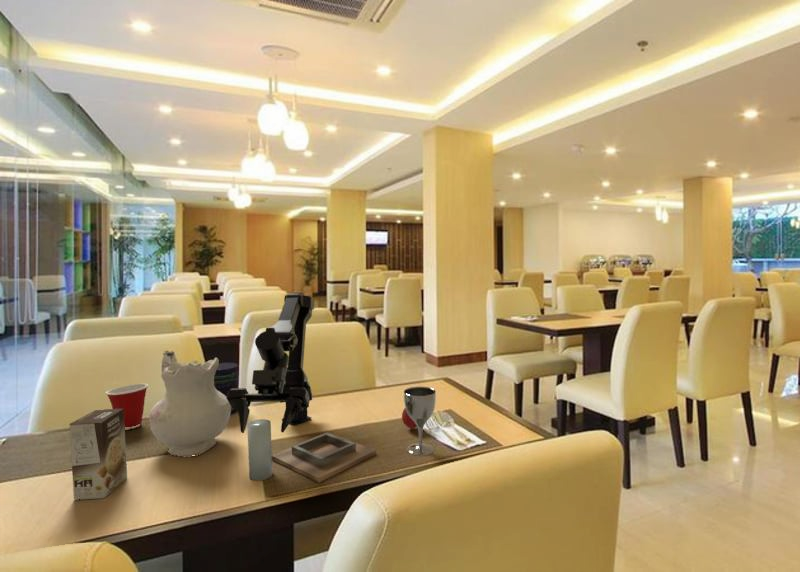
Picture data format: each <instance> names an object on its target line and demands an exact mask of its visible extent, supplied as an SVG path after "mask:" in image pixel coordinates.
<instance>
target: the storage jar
mask: <svg viewBox="0 0 800 572" xmlns="http://www.w3.org/2000/svg"><path fill="white" fill-rule="evenodd" d="M238 368H239V367H238V364H237V363H236V362H219V365H218V368H217V370H216V372H215V375H214V386H215V388H216V390H218V391H219V392H221V393H222V394H224V395H225V396H226V397H227V394H228V391H229V390H230V389H232V388H239V386H238V384H239V372H238V371H239V370H238ZM236 412H237V413H238V411H237V410H236V409H234V408H232V406H231V414H230V416H233V415H235V414H234V413H236ZM237 413H236V414H237ZM232 414H233V415H232Z"/></svg>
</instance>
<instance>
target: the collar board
mask: <svg viewBox="0 0 800 572" xmlns="http://www.w3.org/2000/svg"><path fill="white" fill-rule="evenodd" d="M375 455H377V449H374V448H372V447H368V446H365V445H363V444H360V443H358V442H356V441H352V440H350V439H347V438H344V437H341V436H339V435H335V434H333V433H330V432H323V434H319V435H317V436H314V437H312V438H309V439H307V440H305V441H302V442H300V443H296V444H294V445H292V446H291V447H288V448H286V449H284V450H281V451H279V452H277V453H274V454H272V461H274V462H276V463H278V464H280V465H282V466H284V467H286V468H288V469H291V470H292V471H295V472H296V473H298V474H300V475H302V476H304V477H306V478H309V479H310V480H313V481H314V482H317V483H321V482H323V481H325V480H327V479H329V478H331V477H333V476H335V475H337V474H339V473H340V472H343V471H345V470H347V469H349V468H351V467H353V466H356V465H357V464H359V463H361V462H363V461H366V460H367V459H369V458H371V457H373V456H375Z"/></svg>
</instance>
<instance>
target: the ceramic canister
mask: <svg viewBox="0 0 800 572" xmlns="http://www.w3.org/2000/svg"><path fill="white" fill-rule="evenodd" d="M246 427H247V428H246V429H247V447H248V448H247V449H248V452H247V453H248V472H249V473H248V474H249V480H252V481H254V482H255V481H257V482H258V481H259V482H260V481H265V480H267V479H270V478H271V477H272V476H273V474H274V472H273V460H272V455H273V453H272V452H273V451H272V449H273V447H272V424H271V420H270V419H265V418H264V419H262V418H261V419H254V420H252V421H249V422H247V424H246Z"/></svg>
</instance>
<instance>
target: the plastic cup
mask: <svg viewBox="0 0 800 572" xmlns="http://www.w3.org/2000/svg"><path fill="white" fill-rule="evenodd" d="M148 387H149V384H148V383H136V384H129V385H124V386H123V385H122V386H119V387H115V388H112V389H109V390H106V391H105V395H106V396H107V397H108V399H109V402H110V404H111V409H124V426H125V427H132V426H136V425H138V424H140V423H141V422H143V421H142V420H143V414H144V408H145V400H146V393H147V388H148ZM141 424H142V423H141Z"/></svg>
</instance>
